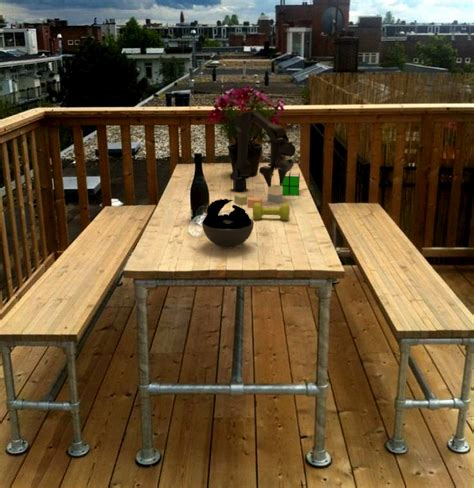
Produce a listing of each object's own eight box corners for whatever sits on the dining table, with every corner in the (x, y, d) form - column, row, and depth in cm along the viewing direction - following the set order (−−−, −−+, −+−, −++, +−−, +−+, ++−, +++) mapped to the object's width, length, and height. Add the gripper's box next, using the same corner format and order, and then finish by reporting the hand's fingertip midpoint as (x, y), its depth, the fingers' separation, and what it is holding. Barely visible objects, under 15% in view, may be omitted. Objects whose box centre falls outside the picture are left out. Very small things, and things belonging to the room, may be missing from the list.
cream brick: (267, 193, 309) (267, 185, 308) (272, 191, 312) (273, 184, 311) (277, 195, 306) (277, 187, 304) (282, 194, 308) (282, 186, 307)
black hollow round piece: (204, 237, 257) (203, 193, 251) (253, 238, 257) (254, 193, 251) (200, 254, 239) (199, 207, 232) (253, 255, 238) (253, 207, 232)
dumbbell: (289, 217, 286) (289, 201, 283) (289, 222, 278) (289, 206, 276) (253, 216, 287) (253, 200, 285) (252, 221, 280) (252, 205, 277)
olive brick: (234, 202, 309) (234, 194, 307) (241, 201, 310) (241, 193, 309) (239, 205, 303) (239, 197, 302) (247, 204, 305) (247, 196, 304)
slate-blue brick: (267, 201, 310) (267, 193, 309) (271, 199, 313) (272, 191, 312) (277, 203, 307) (278, 195, 306) (282, 201, 310) (282, 193, 309)
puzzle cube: (299, 190, 330) (299, 172, 327) (298, 195, 321) (299, 176, 318) (279, 190, 331) (280, 171, 328) (279, 195, 322) (279, 176, 318)
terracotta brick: (247, 207, 300) (247, 199, 299) (250, 205, 304) (250, 197, 303) (259, 208, 298) (259, 200, 297) (262, 206, 302) (262, 198, 301)
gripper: (277, 158, 291) (276, 191, 296) (301, 152, 304) (300, 184, 309) (258, 155, 298) (258, 187, 303) (283, 149, 311) (282, 180, 316)
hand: (275, 185), depth 307 cm, fingers open, 9 cm apart
